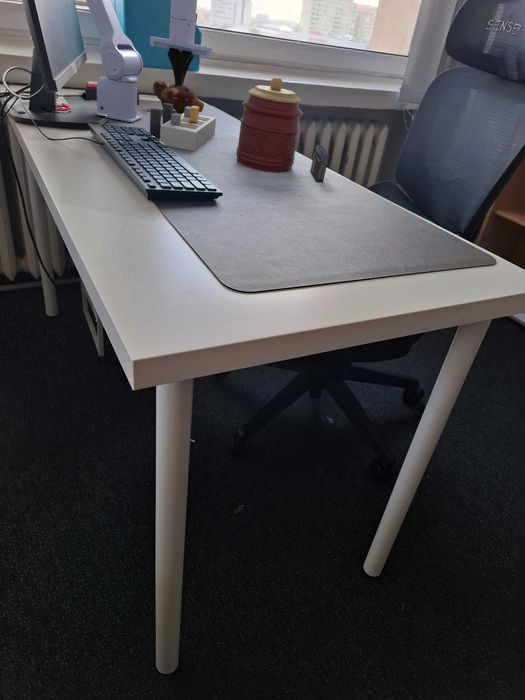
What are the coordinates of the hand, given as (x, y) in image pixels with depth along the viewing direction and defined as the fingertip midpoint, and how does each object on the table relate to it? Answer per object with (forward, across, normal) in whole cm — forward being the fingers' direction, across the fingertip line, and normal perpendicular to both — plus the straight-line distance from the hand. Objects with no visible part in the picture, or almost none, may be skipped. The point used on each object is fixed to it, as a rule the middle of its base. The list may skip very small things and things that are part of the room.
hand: (179, 85), depth 124 cm
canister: (+11, +25, -17) cm, 32 cm away
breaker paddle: (+6, +6, -6) cm, 10 cm away
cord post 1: (+10, -2, -11) cm, 15 cm away
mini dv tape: (+11, +37, -18) cm, 43 cm away
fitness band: (+11, -30, -3) cm, 32 cm away
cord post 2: (+10, -2, -1) cm, 11 cm away
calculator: (+11, -28, +27) cm, 40 cm away
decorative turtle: (+11, -7, +24) cm, 27 cm away
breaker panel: (+10, +5, -6) cm, 13 cm away
